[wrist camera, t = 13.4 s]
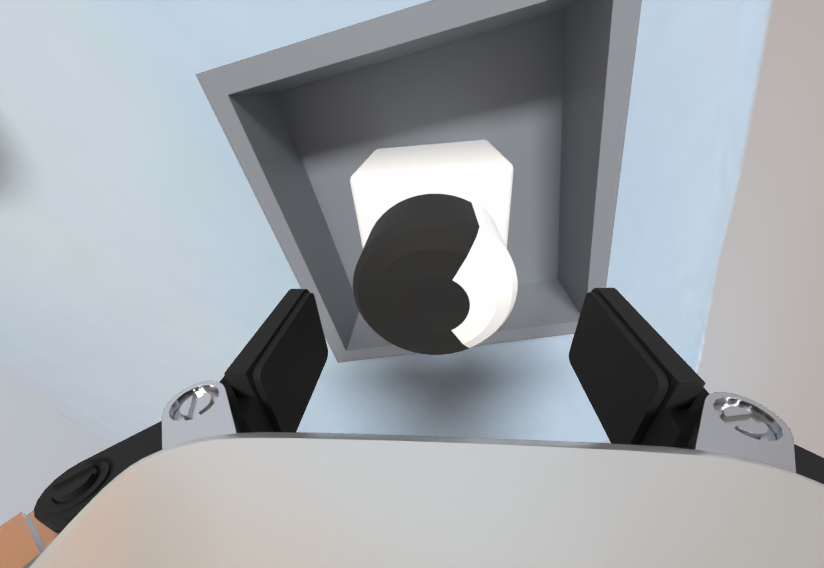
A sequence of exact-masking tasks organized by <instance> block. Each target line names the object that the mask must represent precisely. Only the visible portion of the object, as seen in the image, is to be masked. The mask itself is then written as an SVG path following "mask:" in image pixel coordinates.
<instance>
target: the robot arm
mask: <svg viewBox="0 0 824 568" xmlns="http://www.w3.org/2000/svg"><path fill="white" fill-rule="evenodd" d="M327 357H328V349H327V345H326V340H325V336H324V332H323V328H322V324H321V320H320V316H319V312H318V308H317V304H316V300H315V296H314V294H313V293H310V292H309V290H308V289H290V290H289V291H288V292H287V294H286V295H285V296H284V297H283V299H282V300H281V301H280V303H279V304H278V305H277V306H276V308H275V309H274V310H273V312H272V313H271V314H270V315H269V317H268V318H267V319H266V321H265V322H264V323H263V324H262V326H261V327H260V328H259V330H258V331H257V332H256V333H255V335H254V336H253V337H252V338H251V340H250V341H249V342H248V344H247V345H246V346H245V347H244V349H243V350H242V351H241V353H240V354H239V355H238V356H237V358H236V359H235V360H234V362H233V363H232V364H231V365H230V367H229V368H228V369H227V371H226V372H225V373H224V374H225V376H224V377H223V378H222V380H221V381H220V382H218V381H204V382H200V383H197V384H194V385H192V386H190V387H188V388H186V389H184V390H182V391H181V392H179V393H178V394H177V395H175V396H174V397H173V398H172V399H171V400H170V401H169V402H168V403H167V405H166V407H165V408H164V410H163V413H162V421H161V422H159V423H157V424H155V425H153V426H151V427H149V428H147V429H145V430H143V431H141V432H139V433H137V434H135V435H133V436H131V437H129V438H127V439H125V440H123V441H121V442H119V443H117V444H115V445H113V446H112V447H110V448H108V449H106V450H104V451H102V452H100V453H98V454H96V455H94V456H92V457H90V458H88V459H86V460H84V461H82V462H80V463H78V464H77V465H75V466H74V467H72V468H70V469H68V470H67V471H66V472H64V473H63V474H62V475H61V476H59V477H58V478H57V479H55V480H54V481H53V483H51V484H50V486H48V488H46V489H45V491H44V492H43V493H42V495H41V496H40V498H39V499H38V501H37V503H36V506H35V508H34V511H32V512H31V513H29V514H28V515H25V514H24V513H22V512H21V513H19V514H18V515H16V516H15V517H13V518H12V519H10V520H9V521H8V522H6V523H5V524H3V525H2V526H0V568H824V458H822V457H820V456H818V455H816V454H814V453H812V452H810V451H807V450H805V449H803V448H801V447H799V446H797V445H795V444H794V438H793V435H792V432H791V430H790V428H789V427H788V426H787V425H786V423H785V422H784V421H783V420H782V419H780V418H779V417H778V416H777V415H776V414H775V413H774V412H772V411H770V410H769V409H767V408H766V407H764V406H763V405H761V404H759V403H757V402H754V401H752V400H750V399H748V398H746V397H742V396H739V395H736V394H732V393H726V392H715V393H712V394H709V393H708V392H707V391H706V390H705V389H704V387H703V386H704V385H705V382H704V381H703V380H702V379H701V378H700V377H699V376H698V375H697V374H696V373H695V372H694V370H693V369H692V368H691V367H690V366H689V365H688V364H687V363H686V362H685V361H684V360H683V359H682V358H681V357H680V356H679V355H678V354H677V353H676V352H675V351H674V350H673V348H672V347H671V346H670V345H669V344H668V343H667V342H666V341H665V340H664V339H663V338H662V337H661V336H660V335H659V334H658V333H657V332H656V331H655V330H654V329H653V328H652V326H651V325H650V324H649V323H648V322H647V321H646V320H645V319H644V318H643V317H642V316H641V315H640V314H639V313H638V312H637V311H636V310H635V309H634V308H633V307H632V305H631V304H630V303H629V302H628V301H627V300H626V299H625V298H624V297H623V296H622V295H621V294H620V293H619V292H618V291H617V290H616V289H615V288H594V289H593V290H592V291H591V292H588V293H587V294H586V296H585V299H584V303H583V306H582V310H581V313H580V317H579V320H578V324H577V327H576V331H575V334H574V338H573V341H572V345H571V348H570V352H569V360H570V363H571V365H572V367H573V369H574V371H575V373H576V375H577V377H578V379H579V381H580V383H581V385H582V387H583V389H584V391H585V393H586V395H587V397H588V399H589V401H590V403H591V404H592V406H593V408H594V410H595V412H596V414H597V416H598V418H599V420H600V422H601V424H602V426H603V428H604V430H605V432H606V434H607V436H608V438H609V440H610V442H611V444H609V443H590V442H566V441H542V440H517V439H491V438H464V437H436V436H407V435H375V434H342V433H297V432H296V431H297V428H298V426H299V424H300V421H301V419H302V417H303V414H304V412H305V410H306V407H307V405H308V403H309V400H310V398H311V396H312V393H313V391H314V388H315V386H316V384H317V381H318V379H319V377H320V374H321V372H322V370H323V367H324V365H325V363H326V360H327Z"/></svg>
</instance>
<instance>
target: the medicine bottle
mask: <svg viewBox="0 0 824 568" xmlns="http://www.w3.org/2000/svg"><path fill="white" fill-rule="evenodd" d="M512 182H513V165H512V164H511V163H510V162H509V161H508V160H507V159H506V158H505V157H504V156H503V155H502V154H501V153H500V152H499V151H498V150H497V149H496V148H495V147H493V146H492V145H491V144H490V143H489V142H488V141H487V140H474V141H463V142H451V143H439V144H428V145H416V146H404V147H393V148H381V149H376V150H375V151H374V152H373V153H372V154H371V155H370V156H369V157H368V159H367V160H366V161H365V162H364V163H363V164H362V165H361V166H360V167H359V168H358V169H357V171H356V172H355V173H354V174H353V175H352V176H351V178H350V184H351V189H352V195H353V200H354V205H355V210H356V216H357V221H358V226H359V231H360V237H361V242H362V247H363V251H362V253H361V255H360V258H359V260H358V262H357V265H356V267H355V271H354V276H353V294H354V299H355V302H356V305H357V308H358V310H359V312H360V314H361V315H362V317H363V319H364V320H365V321H366V323H367V324H368V325H369V326H370V327H371V328H372V329H373V330H374V331H375V332H376V333H377V334H378V335H379V336H381V337H382V338H384V339H385V340H386V341H388V342H390V343H391V344H393V345H395V346H397V347H400V348H402V349H404V350H408V351H411V352H415V353H421V354H430V355H441V354H450V353H455V352H459V351H463V350H465V349H468V348H471V347H473V346H475V345H477V344H479V343H481V342H482V341H484V340H485V339H487V338H488V337H489V336H491V335H492V334H493V333H494V332H495V331H497V330H498V329H499V327H500V326H501V325H502V324H503V323H504V322H505V320H506V319H507V318H508V316H509V314H510V312H511V310H512V309H513V306H514V303H515V300H516V296H517V289H518V282H517V274H516V269H515V266H514V264H513V261H512V258H511V256H510V254H509V252H508V250H507V241H508V229H509V217H510V206H511V194H512Z"/></svg>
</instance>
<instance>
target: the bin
mask: <svg viewBox="0 0 824 568" xmlns="http://www.w3.org/2000/svg"><path fill="white" fill-rule="evenodd" d="M641 3H642V0H431V1H428V2H425V3H422V4H419V5H415V6H412V7H409V8H406V9H403V10H399V11H396V12H393V13H390V14H387V15H384V16H380V17H377V18H374V19H371V20H368V21H364V22H361V23H358V24H355V25H352V26H348V27H345V28H342V29H339V30H336V31H333V32H329V33H326V34H323V35H320V36H317V37H313V38H310V39H307V40H304V41H301V42H298V43H294V44H291V45H288V46H285V47H282V48H278V49H275V50H272V51H269V52H266V53H262V54H259V55H256V56H253V57H250V58H247V59H243V60H240V61H237V62H234V63H231V64H227V65H224V66H221V67H218V68H215V69H212V70H208V71H205V72H202V73H199V74H196V76H197V78H198V80H199V82H200V84H201V86H202V88H203V91H204V93H205V95H206V97H207V99H208V101H209V103H210V105H211V107H212V109H213V111H214V113H215V115H216V117H217V119H218V121H219V123H220V125H221V127H222V129H223V131H224V133H225V135H226V137H227V139H228V141H229V143H230V145H231V147H232V149H233V151H234V153H235V155H236V157H237V159H238V161H239V163H240V165H241V167H242V170H243V172H244V174H245V176H246V178H247V180H248V182H249V184H250V186H251V188H252V190H253V192H254V194H255V196H256V198H257V200H258V202H259V204H260V206H261V208H262V210H263V212H264V214H265V216H266V218H267V220H268V222H269V224H270V226H271V228H272V230H273V232H274V234H275V236H276V238H277V240H278V242H279V244H280V246H281V249H282V251H283V253H284V255H285V257H286V259H287V261H288V263H289V265H290V267H291V269H292V271H293V273H294V275H295V277H296V279H297V281H298V283H299V285H300V287H301V289H308V290H309V292H310V293H313V294H314V296H315V300H316V304H317V308H318V312H319V316H320V320H321V324H322V328H323V332H324V336H325V338H326V340H327V342H328V344H329V346H330V348H331V350H332V352H333V354H334V356H335V358H336V360H337V362H346V361H355V360H363V359H371V358H379V357H387V356H395V355H404V354H412V353H415V352H411V351H408V350H404V349H402V348H400V347H397V346H395V345H393V344H391V343H390V342H388V341H386V340H385V339H384V338H382V337H381V336H379V335H378V334H377V333H376V332H375V331H374V330H373V329H372V328H371V327H370V326H369V325H368V324H367V323H366V321H365V320H364V319H363V317H362V315H361V314H360V312H359V310H358V308H357V305H356V302H355V299H354V294H353V276H354V271H355V267H356V265H357V262H358V260H359V258H360V255H361V253H362V251H363V247H362V242H361V237H360V231H359V226H358V221H357V216H356V210H355V205H354V200H353V195H352V189H351V184H350V178H351V176H352V175H353V174H354V173H355V172H356V171H357V169H358V168H359V167H360V166H361V165H362V164H363V163H364V162H365V161H366V160H367V159H368V157H369V156H370V155H371V154H372V153H373V152H374V151H375V150H376V149H381V148H393V147H404V146H416V145H428V144H439V143H451V142H463V141H474V140H487V141H488V142H489V143H490V144H491V145H492V146H493V147H495V148H496V149H497V150H498V151H499V152H500V153H501V154H502V155H503V156H504V157H505V158H506V159H507V160H508V161H509V162H510V163H511V164H512V165H513V182H512V194H511V206H510V217H509V229H508V241H507V250H508V252H509V254H510V256H511V258H512V261H513V264H514V266H515V269H516V274H517V282H518V289H517V296H516V300H515V303H514V306H513V309H512V310H511V312H510V314H509V316H508V318H507V319H506V320H505V322H504V323H503V324H502V325H501V326H500V327H499V329H498V330H497V331H495V332H494V333H493V334H492V335H491V336H489V337H488V338H487V339H485V340H484V341H482V342H481V343H479V344H477V345H485V344H493V343H502V342H510V341H518V340H526V339H534V338H543V337H551V336H559V335H567V334H575V331H576V327H577V324H578V320H579V317H580V313H581V310H582V306H583V303H584V299H585V296H586V294H587V293H588V292H591V291H592V290H593V289H594V288H606V283H607V275H608V267H609V259H610V251H611V243H612V235H613V227H614V219H615V211H616V203H617V195H618V187H619V179H620V171H621V163H622V155H623V147H624V139H625V131H626V123H627V115H628V107H629V99H630V91H631V83H632V75H633V67H634V59H635V51H636V43H637V35H638V27H639V19H640V11H641ZM477 345H475V346H477Z"/></svg>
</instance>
